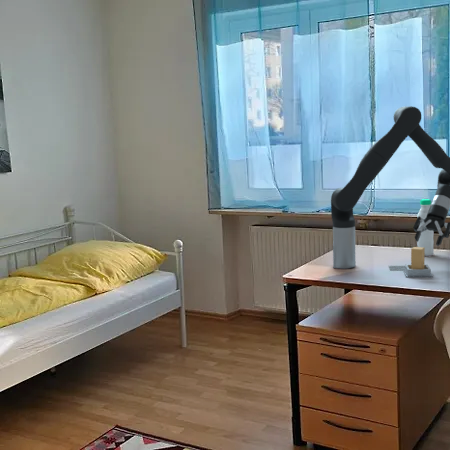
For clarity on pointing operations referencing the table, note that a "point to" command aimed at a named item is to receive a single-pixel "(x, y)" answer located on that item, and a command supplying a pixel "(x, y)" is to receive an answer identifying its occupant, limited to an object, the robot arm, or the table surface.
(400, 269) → the jamb plate
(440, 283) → the table surface
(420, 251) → the block
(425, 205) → the water bottle
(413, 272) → the tray
